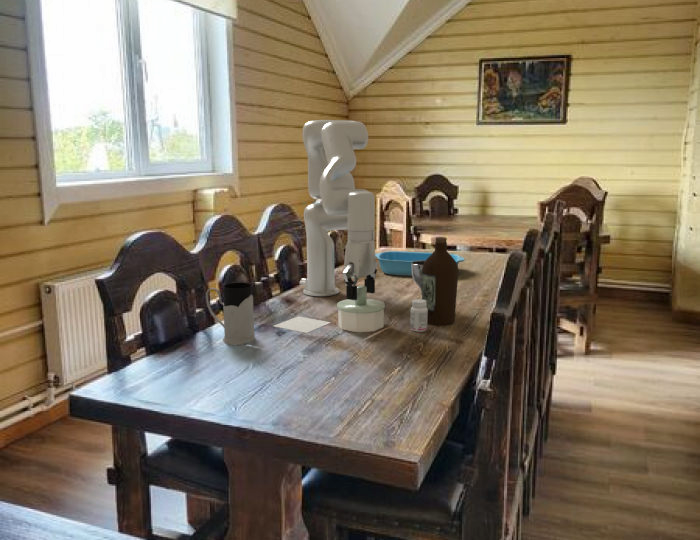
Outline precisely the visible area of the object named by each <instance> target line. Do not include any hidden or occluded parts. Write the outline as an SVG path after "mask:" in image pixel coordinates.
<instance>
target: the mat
mask: <svg viewBox="0 0 700 540" xmlns="http://www.w3.org/2000/svg"><path fill="white" fill-rule="evenodd" d="M331 323H332V322H331V321H325V320H321V319H315V318H309V317H305V316H299V315H298V316H296V317H293V318H290V319H288V320H285V321H282V322H280V323H276V324H275V325H273V327H275V328H280V329H284V330H290V331H295V332H298V333H299V332H300V333H304V334H307V333H310V332H312V331H314V330H318V329H319V328H322V327H325V326H326V325H327V326H328V325H329V324H331Z"/></svg>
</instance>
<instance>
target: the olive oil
mask: <svg viewBox="0 0 700 540" xmlns="http://www.w3.org/2000/svg"><path fill="white" fill-rule="evenodd" d="M447 239H448V238H447V237H444V236H436V237H435V242H434V251H433V252H431V253H432V254H431V255H430V256H429V257H428V258H427V259H426V260H425V262H424V264H423V267H422V292H423V300H426V307H427V309H428V315H427V325H428V324H429V325H432V326H433V325H434V326H448V325H451V324H454V323H455V321H456V306H457V305H456V304H457V294H458V283H459V273H460V272H459V266H458V265H459V264H458V265H457V263H456V261H455V260H454V259H453V258H452V256H451V255H450V254H451V253H449V252H448V250H447V249H448V246H447V245H448V242H447Z"/></svg>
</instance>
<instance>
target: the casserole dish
mask: <svg viewBox="0 0 700 540" xmlns="http://www.w3.org/2000/svg"><path fill="white" fill-rule="evenodd" d="M432 253H433V252H423V251H421V252H420V251H399V250H387V251H382V252H378V253H375V259H376V258H377V260H378V261H377V262H378V266H379V267H380V270H381V271H382V272H383V273H385V275H391V276H392V275H394V276H405V277H407V276H408V277H412V270H411V263H412V262H413V261H418V260H426V259H427V258H428V257H429V256H430V255H431V254H432ZM449 254H450V255H451V256H452V258H453V259H454V260H455V261H456V263H457V265H459V263H462V262H464V261H465V257H463V256H460V255H458V254H455V253H454V254H453V253H449Z"/></svg>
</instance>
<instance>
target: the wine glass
mask: <svg viewBox="0 0 700 540" xmlns="http://www.w3.org/2000/svg"><path fill="white" fill-rule="evenodd" d="M424 262H425V260H418V261H413V262H412V263H411V270H412V276H411V277H412V280H413V281H414V283H415V284H416V285H417V287H418V288H419V289H420V292H421V299H422V300H423V292H422V267H423V264H424Z"/></svg>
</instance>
